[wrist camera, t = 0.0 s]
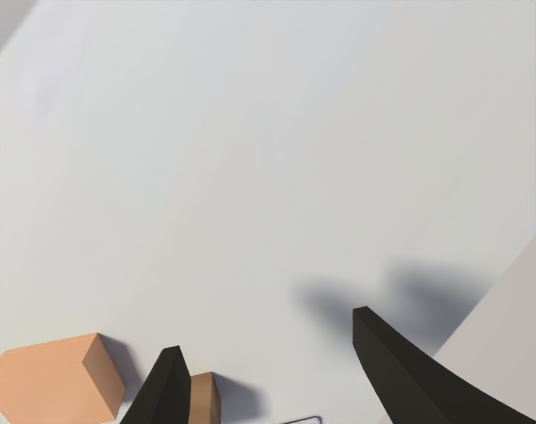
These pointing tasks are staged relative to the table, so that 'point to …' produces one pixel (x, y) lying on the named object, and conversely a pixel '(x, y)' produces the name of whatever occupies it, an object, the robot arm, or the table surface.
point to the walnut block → (204, 400)
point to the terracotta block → (60, 383)
